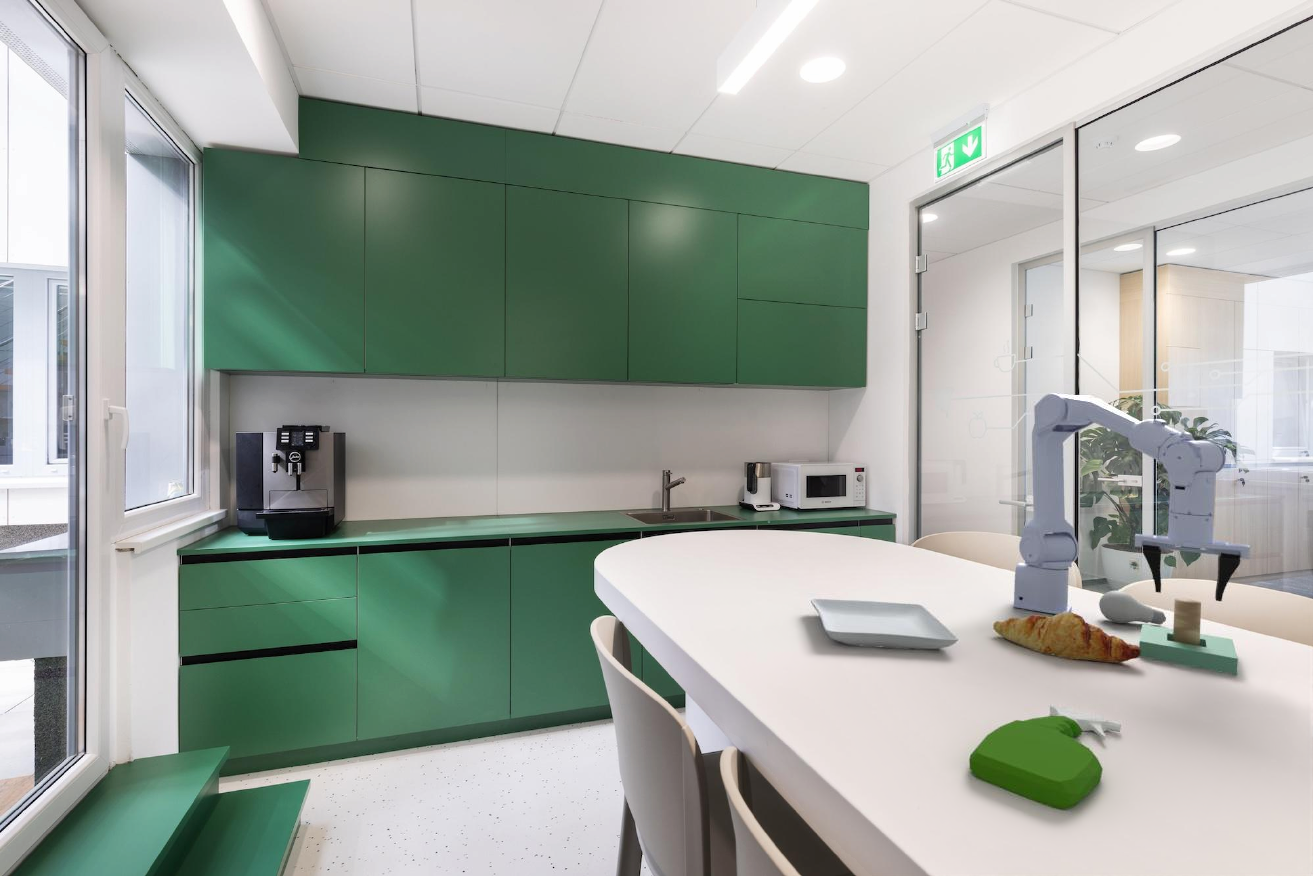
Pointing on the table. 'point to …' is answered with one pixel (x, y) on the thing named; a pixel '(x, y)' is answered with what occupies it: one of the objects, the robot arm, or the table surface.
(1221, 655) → the socket block
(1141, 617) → the lightbulb
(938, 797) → the table surface
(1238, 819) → the table surface
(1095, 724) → the spray bottle
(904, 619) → the salad plate
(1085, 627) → the croissant
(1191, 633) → the dowel
